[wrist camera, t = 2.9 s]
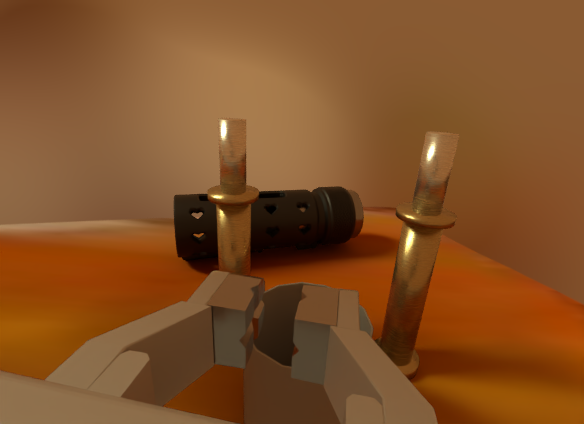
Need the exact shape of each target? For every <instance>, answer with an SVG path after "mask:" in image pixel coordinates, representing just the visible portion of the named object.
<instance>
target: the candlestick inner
mask: <svg viewBox="0 0 584 424" xmlns="http://www.w3.org/2000/svg"><path fill="white" fill-rule="evenodd" d="M218 128H219V158H220V185H219V186H215V187H212V188H210V189H209V190H208V200H209V201H210V202H212V203H214V204H216V209H217V235H218V261H219V271H223V272H230V273H235V274H241V275H247V276H251V203H254V202H256V201H257V200H258V199H259V190H258V189H257V188H255V187H252V186H248V185H246V120H244V119H233V118H220V119H218Z"/></svg>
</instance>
